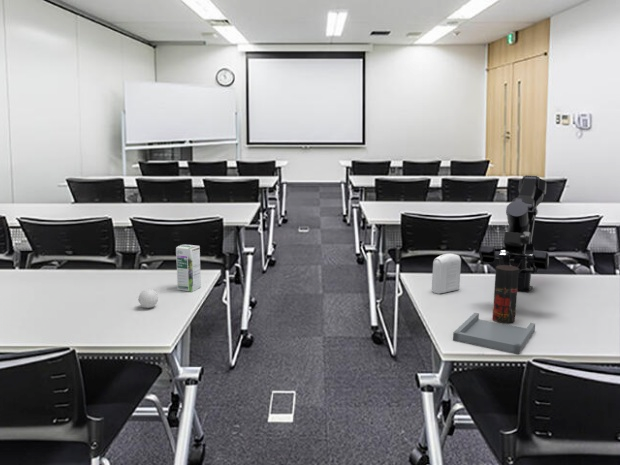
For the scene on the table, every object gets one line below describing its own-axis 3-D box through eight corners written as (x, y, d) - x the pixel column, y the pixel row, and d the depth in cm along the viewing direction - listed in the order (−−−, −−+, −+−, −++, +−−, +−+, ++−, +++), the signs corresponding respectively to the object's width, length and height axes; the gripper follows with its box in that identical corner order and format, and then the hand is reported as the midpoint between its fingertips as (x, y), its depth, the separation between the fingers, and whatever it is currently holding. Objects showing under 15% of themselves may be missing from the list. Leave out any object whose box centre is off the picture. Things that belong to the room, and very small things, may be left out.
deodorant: (489, 316, 156) (492, 265, 153) (509, 316, 157) (513, 264, 154) (497, 324, 150) (501, 270, 148) (518, 323, 151) (522, 270, 148)
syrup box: (176, 290, 181) (174, 247, 178) (187, 285, 186) (185, 243, 183) (191, 292, 179) (189, 248, 176) (201, 287, 184) (200, 244, 181)
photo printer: (451, 286, 185) (453, 250, 183) (461, 289, 182) (463, 253, 179) (429, 291, 180) (431, 254, 177) (439, 295, 176) (441, 257, 174)
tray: (474, 319, 154) (474, 312, 154) (534, 330, 145) (535, 323, 145) (452, 339, 139) (453, 332, 139) (518, 354, 131) (519, 346, 130)
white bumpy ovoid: (162, 305, 165) (161, 287, 164) (151, 311, 160) (150, 293, 159) (141, 303, 168) (139, 285, 167) (129, 308, 163) (128, 290, 162)
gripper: (482, 218, 162) (471, 262, 154) (551, 223, 153) (544, 270, 145) (485, 239, 170) (476, 283, 162) (551, 246, 161) (544, 292, 154)
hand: (508, 281), depth 156 cm, fingers closed
